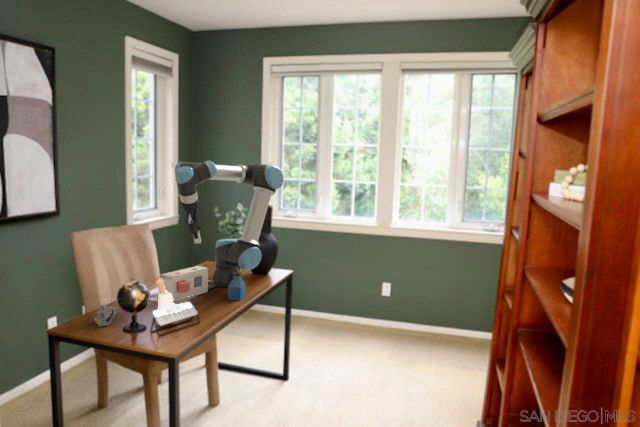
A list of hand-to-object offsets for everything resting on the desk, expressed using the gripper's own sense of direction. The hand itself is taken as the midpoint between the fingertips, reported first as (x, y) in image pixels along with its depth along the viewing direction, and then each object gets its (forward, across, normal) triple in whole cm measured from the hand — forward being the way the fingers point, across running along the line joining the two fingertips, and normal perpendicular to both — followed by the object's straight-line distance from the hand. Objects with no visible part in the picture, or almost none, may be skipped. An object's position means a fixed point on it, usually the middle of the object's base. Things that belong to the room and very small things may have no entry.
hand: (198, 242), depth 219 cm
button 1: (+18, +9, -3) cm, 21 cm away
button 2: (+14, +18, -6) cm, 23 cm away
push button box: (+22, +11, -5) cm, 25 cm away
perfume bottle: (+23, +14, +17) cm, 32 cm away
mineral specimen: (+5, +45, -28) cm, 53 cm away
